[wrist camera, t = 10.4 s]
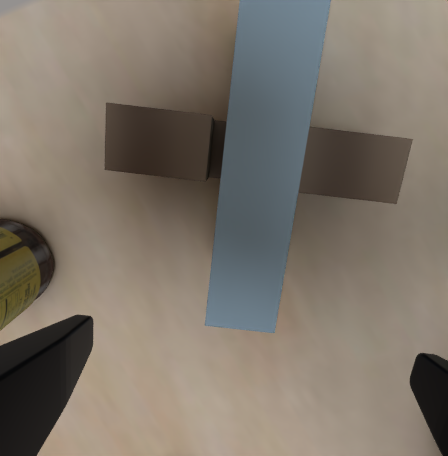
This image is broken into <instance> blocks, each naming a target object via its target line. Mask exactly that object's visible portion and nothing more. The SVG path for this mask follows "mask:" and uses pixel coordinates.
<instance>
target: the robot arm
mask: <svg viewBox="0 0 448 456" xmlns="http://www.w3.org/2000/svg"><path fill="white" fill-rule="evenodd" d="M92 347H93V318H92V317H91V316H86V315H75V316H72V317H70V318H67V319H65V320H62V321H60V322H58V323H55V324H53V325H50V326H48V327H45V328H43V329H40V330H38V331H35V332H33V333H30V334H28V335H25V336H23V337H21V338H18V339H16V340H13V341H11V342H8V343H6V344H3V345H1V346H0V456H37V454H38V452H39V451H40V449H41V447H42V446H43V444H44V442H45V440H46V439H47V437H48V435H49V434H50V432H51V430H52V429H53V427H54V425H55V424H56V422H57V420H58V419H59V417H60V415H61V413H62V412H63V410H64V408H65V406H66V405H67V402H68V400H69V398H70V396H71V394H72V392H73V390H74V388H75V386H76V383H77V381H78V379H79V377H80V375H81V373H82V370H83V368H84V366H85V364H86V362H87V360H88V357H89V355H90V353H91V350H92ZM410 386H411V389H412V391H413V393H414V396H415V398H416V400H417V402H418V405H419V407H420V409H421V411H422V413H423V416H424V418H425V420H426V422H427V425H428V427H429V429H430V431H431V433H432V436H433V438H434V440H435V442H436V444H437V446H438V448H439V450H440V452H441V453H442V455H443V456H448V361H447V360H445V359H443V358H441V357H439V356H437V355H435V354H427V353H420V354H418V355H417V357H416V359H415V363H414V366H413V369H412V373H411V376H410Z"/></svg>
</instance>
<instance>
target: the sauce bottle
mask: <svg viewBox="0 0 448 456" xmlns="http://www.w3.org/2000/svg"><path fill="white" fill-rule="evenodd" d="M53 270H54V263H53V258H52V255H51V253H50V251H49V248H48V246H47V245H46V243H45V242H44V241H43V239H42V238H41V236H40V235H39V234H38V233H36V232H35V231H34V230H33V229H31V228H29V227H27V226H25V225H23V224H20V223H17V222H13V221H9V220H4V219H0V330H2V329H3V328H4V327H5V326H6V325H7V324H9V323H10V322H11V321H12V320H13V319H15V318H16V317H17V316H18V315H19V314H21V313H22V312H23V311H24V310H25V309H27V308H28V307H29V306H30V305H31V304H32V303H33V301H34V300H35V299H37V298H38V297H39V296H40V295H41V294H42V293H43V292H44V290H45V289H46V288H47V285H48V284H49V282H50V279H51V276H52V272H53Z"/></svg>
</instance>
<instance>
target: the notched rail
mask: <svg viewBox="0 0 448 456" xmlns="http://www.w3.org/2000/svg"><path fill="white" fill-rule="evenodd" d="M226 124H227V122H224V121H216V120H214V118H213V116H212V115H206V114H197V113H189V112H180V111H172V110H164V109H155V108H147V107H138V106H130V105H122V104H113V103H106V134H105V170H111V171H119V172H128V173H136V174H145V175H154V176H162V177H171V178H179V179H188V180H196V181H206V180H207V179H208V178H209V177H212V178H220V179H221V171H222V162H223V152H224V143H225V134H226ZM412 140H413V139H407V138H399V137H390V136H382V135H374V134H365V133H357V132H348V131H340V130H332V129H323V128H315V127H309V132H308V138H307V144H306V150H305V156H304V161H303V167H302V173H301V179H300V185H299V191H298V192H299V193H308V194H316V195H325V196H333V197H342V198H350V199H359V200H368V201H376V202H385V203H393V204H397V200H398V196H399V192H400V188H401V184H402V180H403V176H404V172H405V168H406V164H407V160H408V156H409V152H410V148H411V144H412Z"/></svg>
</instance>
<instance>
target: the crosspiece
mask: <svg viewBox="0 0 448 456" xmlns="http://www.w3.org/2000/svg"><path fill="white" fill-rule="evenodd" d="M330 2H331V0H240V4H239V13H238V22H237V32H236V41H235V50H234V59H233V69H232V78H231V87H230V97H229V106H228V115H227V124H226V134H225V143H224V152H223V162H222V171H221V180H220V189H219V199H218V208H217V217H216V227H215V236H214V245H213V254H212V264H211V273H210V282H209V292H208V301H207V310H206V320H205V326H214V327H223V328H232V329H241V330H250V331H259V332H268V333H275V327H276V321H277V315H278V309H279V303H280V297H281V291H282V285H283V279H284V274H285V268H286V262H287V256H288V250H289V244H290V238H291V232H292V226H293V220H294V215H295V209H296V203H297V197H298V191H299V185H300V179H301V173H302V167H303V161H304V156H305V150H306V144H307V138H308V132H309V126H310V120H311V114H312V108H313V102H314V97H315V91H316V85H317V79H318V73H319V67H320V61H321V55H322V49H323V43H324V38H325V32H326V26H327V20H328V14H329V8H330Z"/></svg>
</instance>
